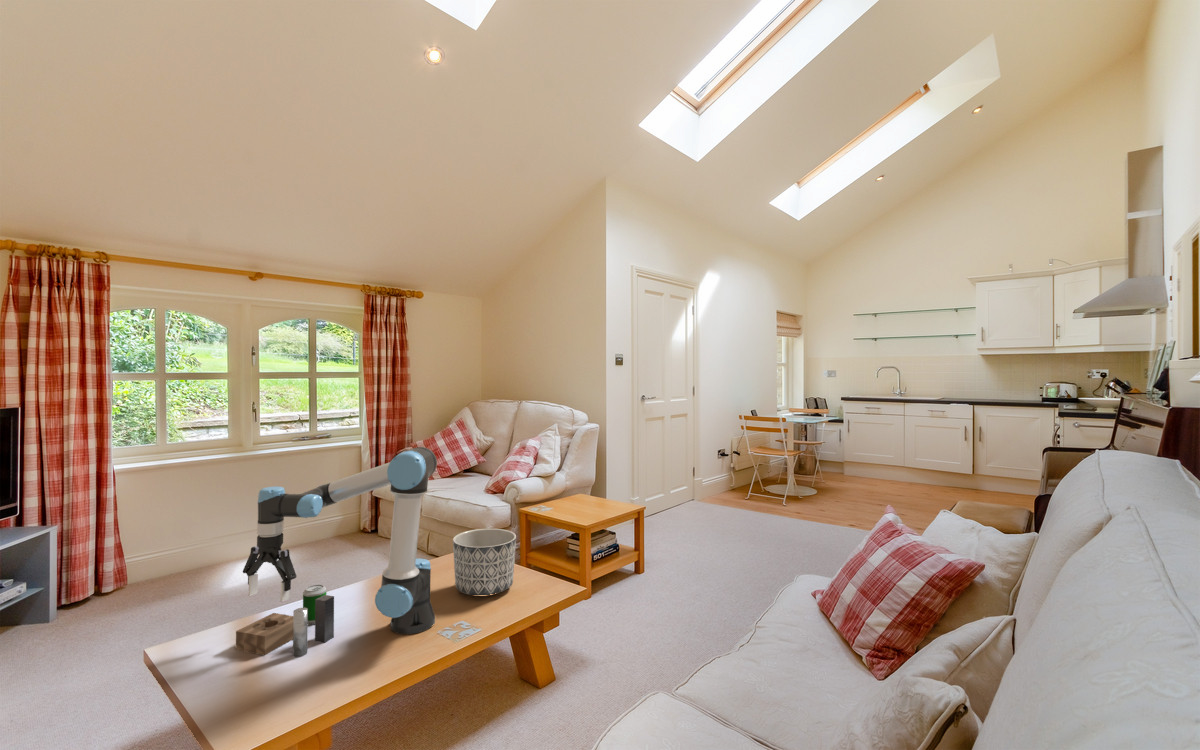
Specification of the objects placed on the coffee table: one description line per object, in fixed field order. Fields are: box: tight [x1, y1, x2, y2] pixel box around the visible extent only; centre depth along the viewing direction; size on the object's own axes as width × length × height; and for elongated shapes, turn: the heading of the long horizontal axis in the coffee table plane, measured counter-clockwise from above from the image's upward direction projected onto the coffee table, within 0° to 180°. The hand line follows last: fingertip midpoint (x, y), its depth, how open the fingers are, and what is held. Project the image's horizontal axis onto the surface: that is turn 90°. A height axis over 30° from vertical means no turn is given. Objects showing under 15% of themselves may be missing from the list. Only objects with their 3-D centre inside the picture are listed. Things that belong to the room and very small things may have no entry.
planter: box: [452, 528, 517, 596], centre depth 223 cm, size 26×26×22 cm
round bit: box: [292, 607, 309, 658], centre depth 170 cm, size 4×4×14 cm
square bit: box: [314, 594, 335, 644], centre depth 180 cm, size 4×4×14 cm
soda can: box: [302, 584, 327, 625], centre depth 193 cm, size 8×8×12 cm
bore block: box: [235, 612, 293, 656], centre depth 177 cm, size 12×14×6 cm
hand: (268, 597), depth 177 cm, fingers open, 13 cm apart
